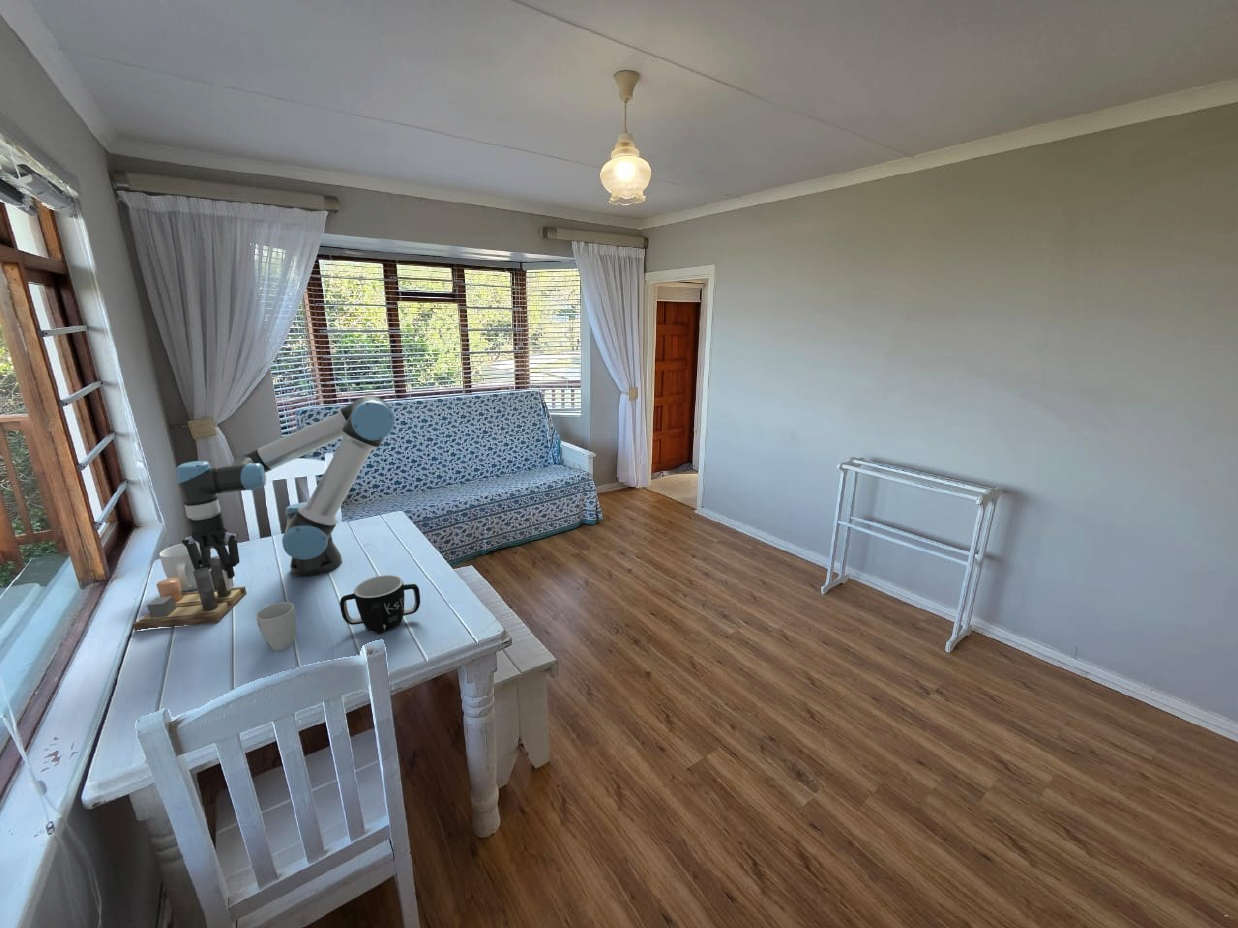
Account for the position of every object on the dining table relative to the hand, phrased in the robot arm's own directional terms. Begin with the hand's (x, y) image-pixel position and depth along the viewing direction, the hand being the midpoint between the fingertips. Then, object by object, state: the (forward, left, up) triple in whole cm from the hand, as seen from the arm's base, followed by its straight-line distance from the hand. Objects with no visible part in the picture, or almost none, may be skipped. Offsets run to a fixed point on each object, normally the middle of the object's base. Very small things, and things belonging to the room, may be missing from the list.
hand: (223, 588), depth 148 cm
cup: (-26, +27, -5) cm, 37 cm away
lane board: (+6, +4, -5) cm, 9 cm away
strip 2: (+6, 0, -3) cm, 7 cm away
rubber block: (+11, +8, -2) cm, 14 cm away
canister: (+13, 0, -2) cm, 14 cm away
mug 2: (-50, +23, -5) cm, 55 cm away
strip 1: (+7, +8, -3) cm, 11 cm away
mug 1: (+15, -12, -5) cm, 20 cm away
